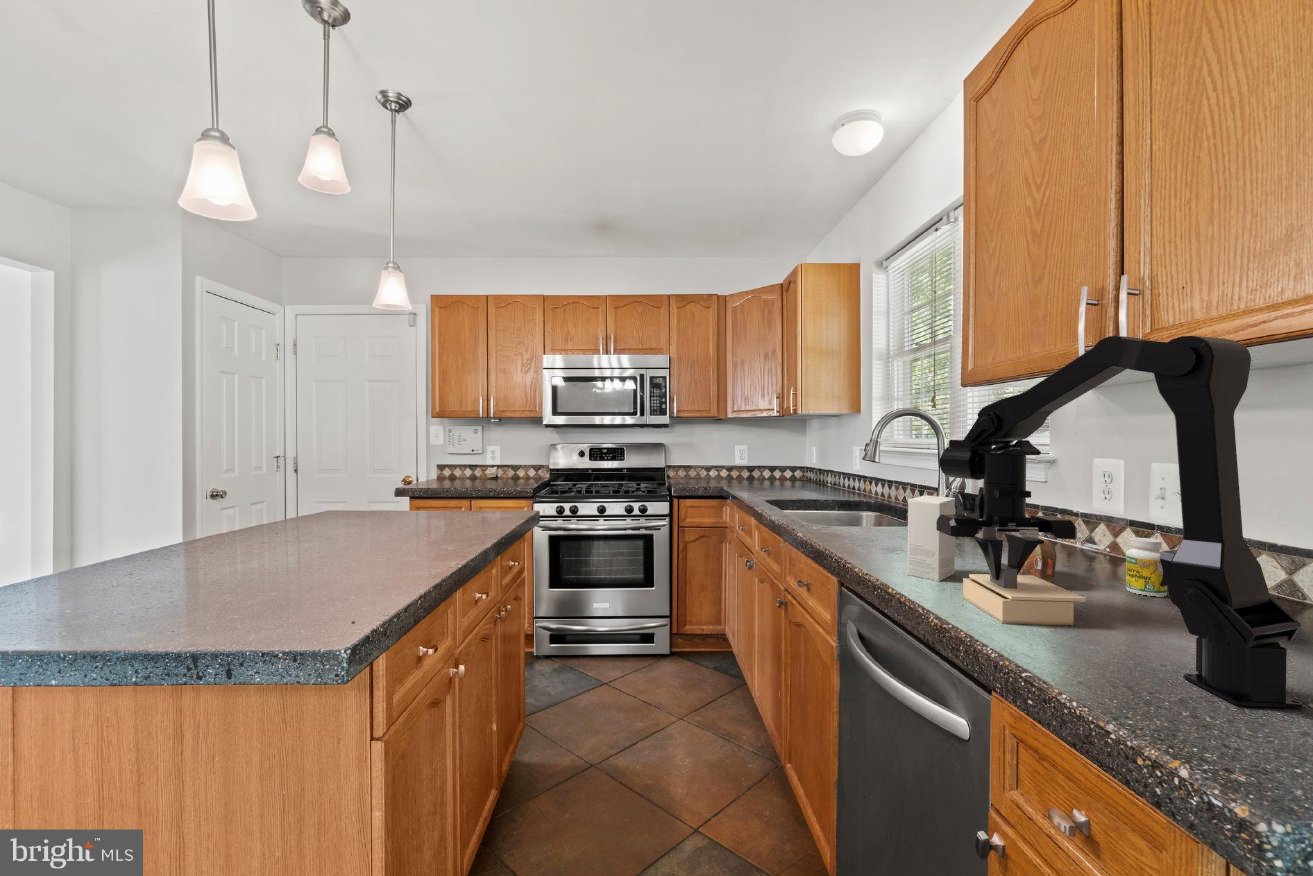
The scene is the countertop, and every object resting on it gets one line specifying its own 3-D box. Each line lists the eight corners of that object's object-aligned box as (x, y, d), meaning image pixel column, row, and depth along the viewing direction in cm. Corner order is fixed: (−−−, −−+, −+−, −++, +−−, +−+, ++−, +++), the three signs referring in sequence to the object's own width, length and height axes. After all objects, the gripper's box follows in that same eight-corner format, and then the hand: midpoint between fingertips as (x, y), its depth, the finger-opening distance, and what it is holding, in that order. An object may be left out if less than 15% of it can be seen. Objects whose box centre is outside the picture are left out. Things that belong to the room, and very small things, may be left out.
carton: (1073, 625, 78) (1073, 602, 78) (1002, 623, 79) (1002, 600, 79) (1024, 600, 90) (1024, 579, 90) (963, 598, 91) (963, 578, 91)
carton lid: (1085, 601, 78) (1085, 578, 78) (1011, 599, 79) (1011, 576, 79) (1033, 578, 90) (1033, 558, 90) (969, 576, 91) (969, 556, 91)
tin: (1013, 569, 111) (1013, 529, 111) (1031, 570, 110) (1031, 530, 110) (1038, 589, 97) (1039, 543, 97) (1059, 590, 96) (1059, 544, 95)
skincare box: (923, 568, 111) (924, 494, 111) (957, 575, 106) (958, 497, 106) (905, 575, 106) (906, 498, 105) (940, 582, 101) (940, 501, 100)
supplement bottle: (1174, 596, 92) (1175, 541, 92) (1153, 599, 91) (1154, 543, 90) (1138, 587, 97) (1139, 535, 97) (1118, 590, 96) (1118, 537, 96)
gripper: (1034, 478, 92) (1033, 568, 92) (922, 477, 93) (922, 565, 93) (1080, 485, 81) (1078, 586, 81) (952, 484, 82) (952, 583, 82)
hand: (1003, 579), depth 85 cm, fingers closed on carton lid, 2 cm apart
